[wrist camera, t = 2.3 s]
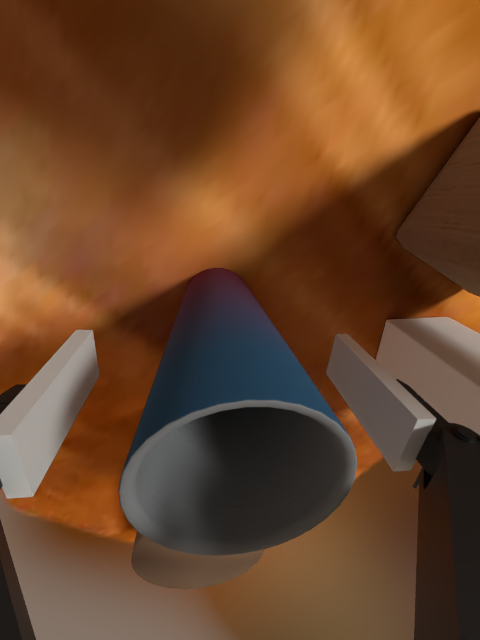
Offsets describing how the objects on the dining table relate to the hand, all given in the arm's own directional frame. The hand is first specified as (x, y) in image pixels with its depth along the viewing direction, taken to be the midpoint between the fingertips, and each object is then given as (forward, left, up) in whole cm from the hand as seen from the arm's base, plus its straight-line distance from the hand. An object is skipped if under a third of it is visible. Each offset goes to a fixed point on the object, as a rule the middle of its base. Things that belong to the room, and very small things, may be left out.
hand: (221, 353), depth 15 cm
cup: (0, 0, -7) cm, 7 cm away
